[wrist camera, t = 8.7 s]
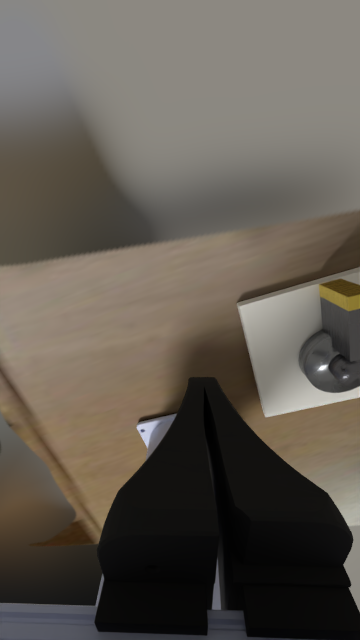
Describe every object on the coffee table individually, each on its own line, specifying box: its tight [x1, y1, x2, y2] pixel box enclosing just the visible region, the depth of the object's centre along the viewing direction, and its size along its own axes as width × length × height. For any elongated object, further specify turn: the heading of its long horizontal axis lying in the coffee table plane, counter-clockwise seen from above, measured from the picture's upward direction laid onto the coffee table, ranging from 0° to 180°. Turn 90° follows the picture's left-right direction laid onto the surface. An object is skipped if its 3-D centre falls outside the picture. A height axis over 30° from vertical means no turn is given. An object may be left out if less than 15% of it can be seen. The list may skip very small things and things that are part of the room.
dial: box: [299, 279, 360, 393], centre depth 18 cm, size 10×6×4 cm, turn 17°
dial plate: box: [237, 267, 360, 417], centre depth 21 cm, size 13×14×1 cm
